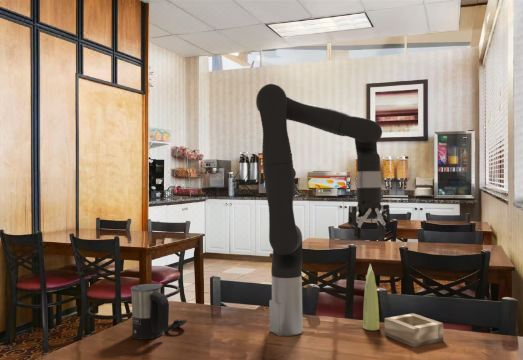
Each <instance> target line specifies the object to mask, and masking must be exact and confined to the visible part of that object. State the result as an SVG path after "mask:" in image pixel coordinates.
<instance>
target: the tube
mask: <svg viewBox="0 0 523 360" xmlns="http://www.w3.org/2000/svg"><path fill="white" fill-rule="evenodd" d="M366 273H367V274H366V279H365V286H364V294H363V295H364V297H363V313H362V327H363V329H364V330H366V331H367V330H368V331H378V330H380V313H379V312H380V311H379V296H378V291H377V290H378V289H377V283H376V277H375V273H374V271H373V267H372V264H369V266H368V269H367V272H366Z"/></svg>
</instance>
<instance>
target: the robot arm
mask: <svg viewBox="0 0 523 360" xmlns="http://www.w3.org/2000/svg"><path fill="white" fill-rule="evenodd" d="M255 101H256V102H255V104H256V109H257V111H259V115H260V121H261V125H262V126H261V127H262V148H261V149H262V152H261V153H262V155H261V159H262V171H263V180H264V181H263V182H264V185H265V186H264V187H265V188H264V189H265V193H266V194H265V195H266V199H267V205H268V217H269V218H268V221H269V223H268V225H269V227H268V239H269V244H270V247H271V249H272V263H271V269H270V271H271V273H270V274H271V299H270V300H269V301H268V302H269V307H268V308H269V331H270V332H271V333H273V334H275V335H277V336H278V337H280V336H282V337H283V336H284V337H285V336H288V337H289V336H290V337H291V336H296V335H300V334H302V333H303V327H304V326H303V280H302V279H303V277H302V270H303V234H302V231H301V229H300V228H299V226H298V225H296V221H295V213H294V192H295V191H294V190H295V171H294V170H295V169H294V161H293V156H292V148H291V143H290V139H289V133H288V124H287V120H288V121H292V122H297V123H300V124H303V125H307V126H309V127H312V128H315V129H317V130H321V131H323V132H326V133H330V134H333V135H336V136H340V137H348V138H351V139H354V143H355V150H356V157H357V158H356V182H355V183H356V201H357V205H356V206H355V205H349V206H348V218H347V224H348V226H350V227H351V226H352V227H353V237H354V238H355V240H357V241H362V238H363V237H362V234H363V233H362V225H363V223H364V222H366V220H373V221H375V222H376V224H377V226H376V227H377V229H376V230H377V238H379V239H383V238H385V234H386V232H385V231H386V227H385V226H386V225H388V224H390V223H391V215H390V213H391V212H390V205H389V204H386V203H382V204H381V202H382V196H383V195H382V175H381V157H380V156H381V155H380V154H379V153H378V145H377V144H378V143H377V142H378V141H379V140H380V139H381V138H382V134H383V129H382V127H381V125H380V124H379V123H378V122H376V121H374V120H372V119H369V118H364V117H359V116H355V115H351V114H347V113H346V112H343V111H338V110H336V109H332V108H328V107H325V106H320V105H314V104H309V103H305V102H300V101H297V100H296V99H295V100H294V99H292V98H290V97H288V96H287V94H286V92H285V90H284V89H283V88H282V87H281V86H280V85H278V84H276V83H268V84H265V85H264V86H262V87H261V88H260V89H259V91H258V93H257V95H256V100H255Z"/></svg>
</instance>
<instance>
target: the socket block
mask: <svg viewBox="0 0 523 360" xmlns="http://www.w3.org/2000/svg"><path fill="white" fill-rule="evenodd" d="M384 336H386V337H388V338H391V339H393V340H396V341H397V342H400V343H402V344H406V345H407V346H410V347H412V348H417V347H422V346H426V345H431V344H436V343H438V342H444V323H443V322H441V321H439V320H438V321H437V320H435V319H431V318H427V317H425V316H422V315H420V314H416V313H408V314H401V315H396V316H395V315H394V316H391V317H390V316H389V317H385V318H384Z"/></svg>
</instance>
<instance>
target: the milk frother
mask: <svg viewBox="0 0 523 360" xmlns="http://www.w3.org/2000/svg"><path fill="white" fill-rule="evenodd" d="M161 288H162V284H157V283H144V284H137V285H134V286H131V287H130V290H131V314H132V315H131V316H132V317H131V318H132V331H131V332H132V334H131V338H133V339H135V340H150V339H155V338H159V337H161V336H162V335H163V332H167V331H170V330H172V329H176V328H177V329H179V328H180V327H181V326H183V325H185V324H186V323H188V319H174V320H173V322H172V323H171V324H169V320H170V317H169V315H170V314H169V313H170V303H169V299H168V297H167V296H166V295H165V294H164V293H161Z"/></svg>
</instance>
